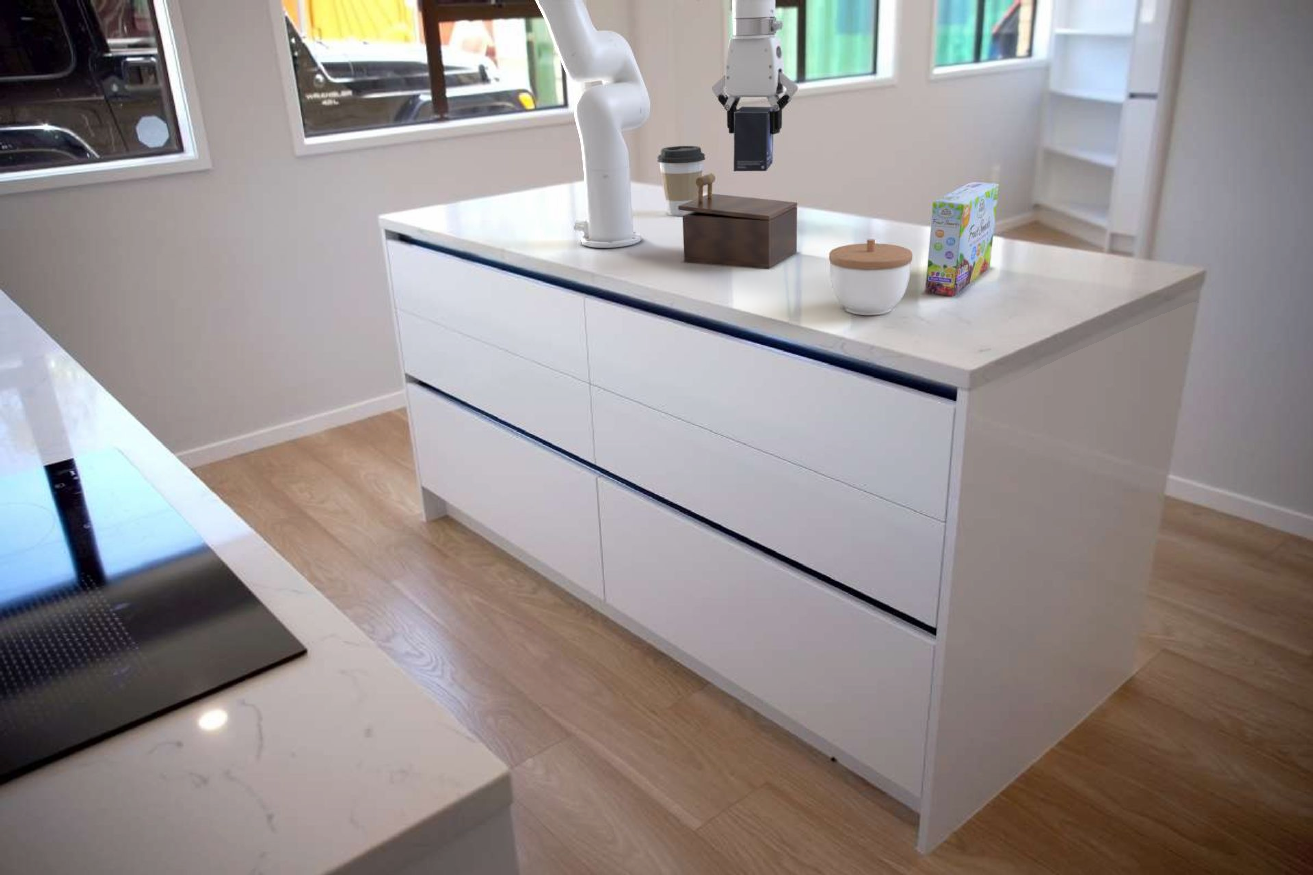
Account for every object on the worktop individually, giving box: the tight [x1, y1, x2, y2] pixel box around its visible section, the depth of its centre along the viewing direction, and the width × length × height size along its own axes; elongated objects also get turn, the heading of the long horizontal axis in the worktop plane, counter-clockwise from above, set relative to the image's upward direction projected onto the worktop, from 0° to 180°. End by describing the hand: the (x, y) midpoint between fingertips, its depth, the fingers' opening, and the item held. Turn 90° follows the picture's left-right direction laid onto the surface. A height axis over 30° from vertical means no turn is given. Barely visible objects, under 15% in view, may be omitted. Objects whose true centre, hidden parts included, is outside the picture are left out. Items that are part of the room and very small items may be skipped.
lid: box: [678, 172, 798, 220], centre depth 189 cm, size 19×14×6 cm
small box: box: [733, 106, 774, 172], centre depth 183 cm, size 11×6×10 cm, turn 168°
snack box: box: [924, 181, 1000, 297], centre depth 168 cm, size 21×6×15 cm, turn 148°
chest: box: [682, 206, 798, 270], centre depth 192 cm, size 18×14×9 cm
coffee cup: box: [656, 145, 706, 217], centre depth 235 cm, size 11×11×15 cm
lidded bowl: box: [828, 238, 913, 316], centre depth 156 cm, size 13×13×11 cm
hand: (754, 132), depth 183 cm, fingers closed on small box, 7 cm apart
